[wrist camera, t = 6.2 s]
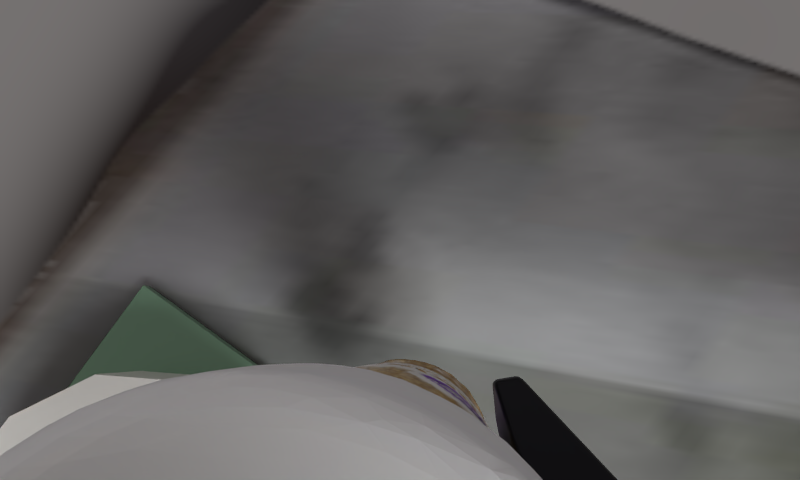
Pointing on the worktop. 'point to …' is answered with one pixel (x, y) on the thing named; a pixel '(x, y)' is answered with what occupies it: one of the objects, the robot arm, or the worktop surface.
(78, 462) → the sprinkles bottle
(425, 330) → the worktop surface
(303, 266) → the worktop surface
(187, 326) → the practice green
